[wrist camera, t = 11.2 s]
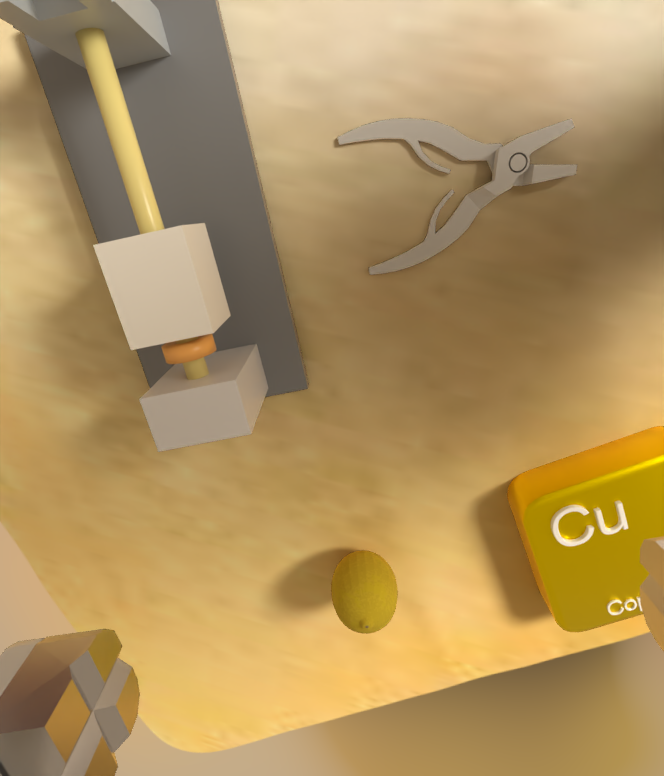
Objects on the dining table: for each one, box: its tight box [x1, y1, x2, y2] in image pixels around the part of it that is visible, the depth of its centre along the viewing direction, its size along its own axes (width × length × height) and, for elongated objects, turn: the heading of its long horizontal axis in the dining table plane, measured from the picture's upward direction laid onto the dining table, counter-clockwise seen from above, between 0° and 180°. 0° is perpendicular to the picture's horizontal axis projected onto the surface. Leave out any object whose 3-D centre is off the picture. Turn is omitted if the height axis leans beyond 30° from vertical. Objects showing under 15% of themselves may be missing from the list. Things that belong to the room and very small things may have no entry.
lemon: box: [331, 550, 398, 633], centre depth 41 cm, size 6×6×8 cm
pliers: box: [337, 118, 577, 275], centre depth 34 cm, size 10×2×15 cm
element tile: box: [507, 426, 664, 632], centre depth 42 cm, size 15×15×5 cm
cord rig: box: [0, 0, 309, 452], centre depth 30 cm, size 12×27×12 cm, turn 12°
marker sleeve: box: [93, 223, 231, 350], centre depth 30 cm, size 5×6×5 cm
